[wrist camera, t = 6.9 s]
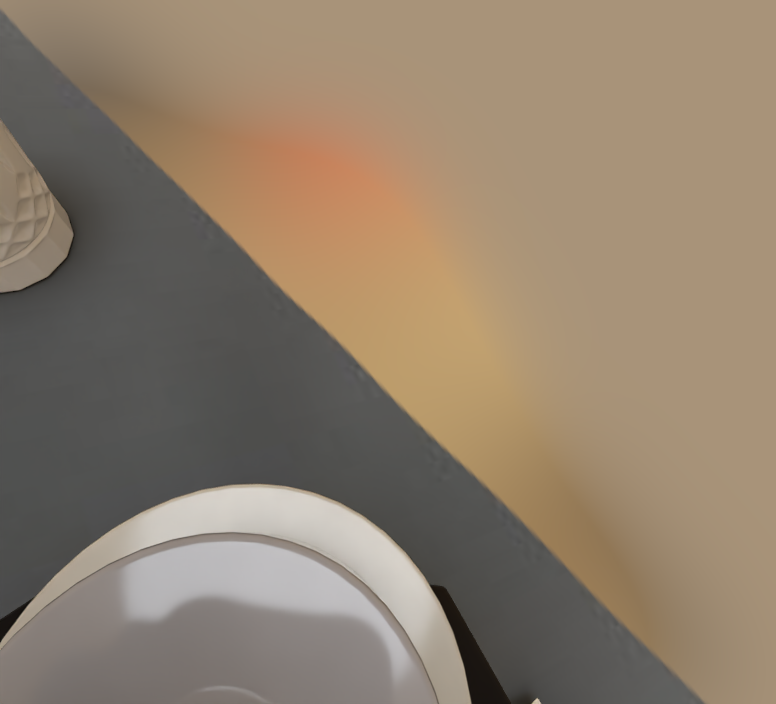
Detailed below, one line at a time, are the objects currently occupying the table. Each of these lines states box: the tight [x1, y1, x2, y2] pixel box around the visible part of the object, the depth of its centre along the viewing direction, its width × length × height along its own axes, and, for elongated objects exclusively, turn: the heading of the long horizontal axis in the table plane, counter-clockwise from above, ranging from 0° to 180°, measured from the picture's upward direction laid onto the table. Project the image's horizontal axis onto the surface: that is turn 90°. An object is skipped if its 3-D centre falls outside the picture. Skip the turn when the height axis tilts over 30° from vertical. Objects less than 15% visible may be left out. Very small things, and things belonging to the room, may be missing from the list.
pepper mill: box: [0, 484, 472, 704], centre depth 9 cm, size 6×6×14 cm
